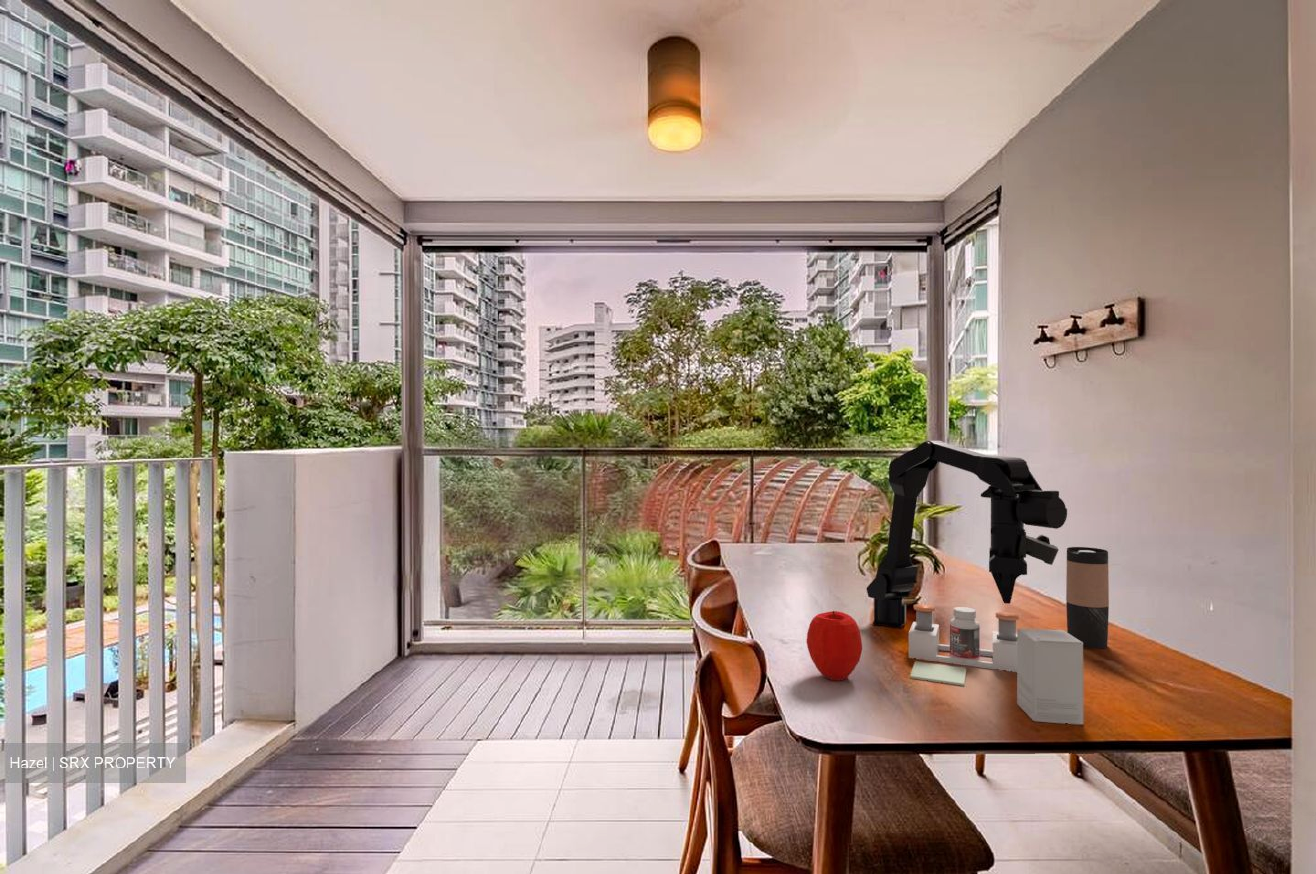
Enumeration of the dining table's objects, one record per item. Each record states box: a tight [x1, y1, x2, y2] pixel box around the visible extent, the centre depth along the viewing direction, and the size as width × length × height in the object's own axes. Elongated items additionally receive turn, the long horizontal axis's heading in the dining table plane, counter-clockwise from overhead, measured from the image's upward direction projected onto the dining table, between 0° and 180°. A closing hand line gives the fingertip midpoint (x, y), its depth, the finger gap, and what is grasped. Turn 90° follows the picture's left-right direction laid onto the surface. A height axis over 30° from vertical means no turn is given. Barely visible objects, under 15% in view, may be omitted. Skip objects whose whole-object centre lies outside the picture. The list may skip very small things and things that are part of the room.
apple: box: [806, 610, 863, 682], centre depth 125 cm, size 10×10×12 cm
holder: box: [908, 621, 1017, 673], centre depth 135 cm, size 20×9×5 cm, turn 64°
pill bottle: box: [949, 606, 981, 661], centre depth 135 cm, size 5×5×10 cm
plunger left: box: [913, 603, 936, 632], centre depth 138 cm, size 4×4×5 cm
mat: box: [909, 661, 967, 687], centre depth 126 cm, size 9×9×1 cm
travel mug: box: [1065, 546, 1110, 650], centre depth 145 cm, size 8×8×20 cm
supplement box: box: [1016, 628, 1084, 725], centre depth 108 cm, size 7×7×13 cm
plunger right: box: [995, 611, 1020, 642], centre depth 132 cm, size 4×4×5 cm
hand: (1007, 603), depth 132 cm, fingers closed
